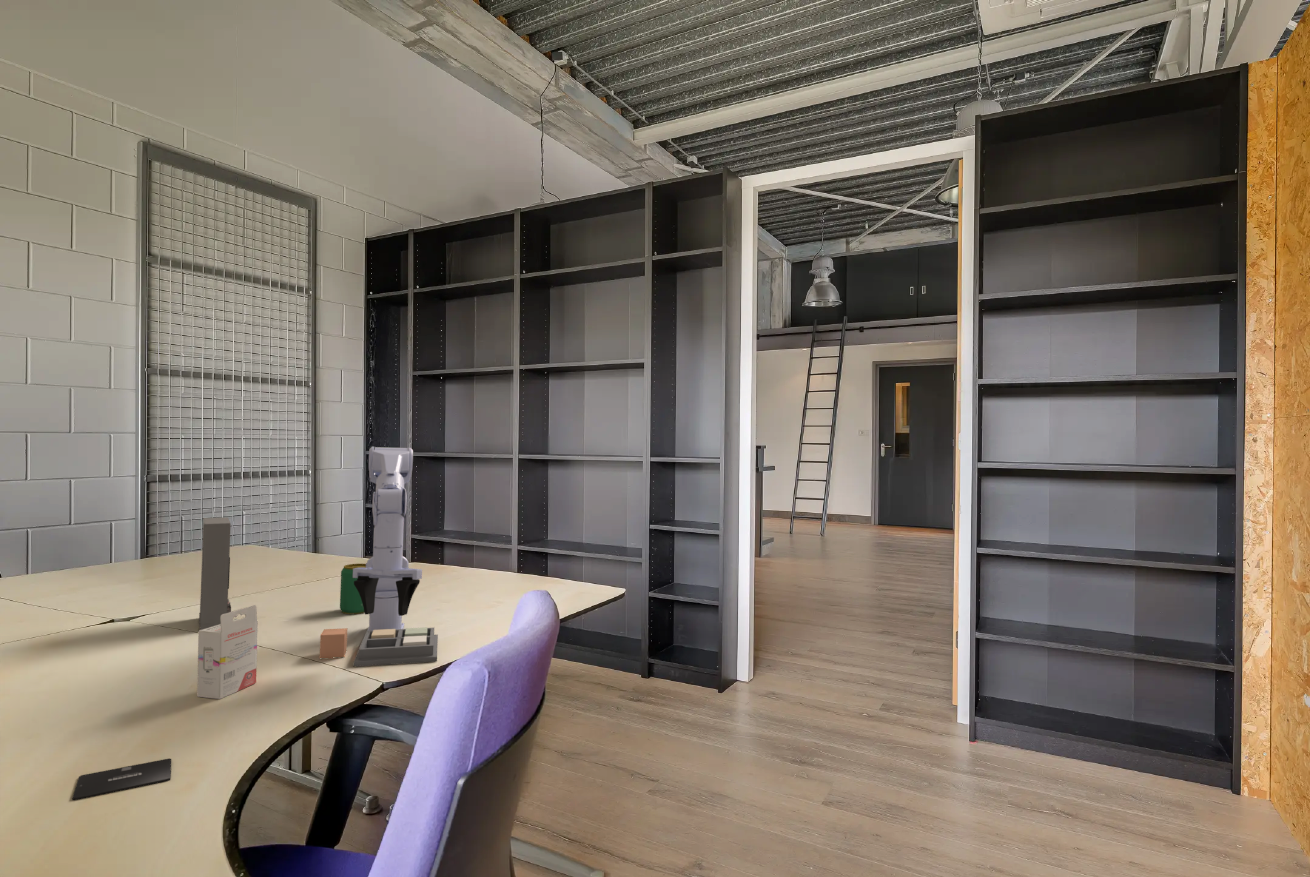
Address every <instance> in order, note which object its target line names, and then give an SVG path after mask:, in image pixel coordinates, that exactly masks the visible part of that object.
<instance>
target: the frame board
mask: <svg viewBox="0 0 1310 877" xmlns="http://www.w3.org/2000/svg"><path fill="white" fill-rule="evenodd" d="M438 636H439V634H435V627H409V628H408V627H406V628H403V629H382V630H371V631H367V630H366V631H365V634H364V637H363V638H362V640H361V643H360V646H359V648H358V651H357V654H356V655H355V658H354V659H353V667H354V666H356V667H368V666H369V667H371V666H384V665H386V666H387V665H388V666H389V665H401V664H402V663H405V664H417V663H418V664H419V663H433V662H434V663H436V662H435V661H438V642H439V637H438Z"/></svg>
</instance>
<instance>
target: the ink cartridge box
mask: <svg viewBox="0 0 1310 877" xmlns="http://www.w3.org/2000/svg"><path fill="white" fill-rule="evenodd" d="M257 609H258V607H257V605H256V604H253V605H250V606H247V607H243V608H239V609H236V610H231V612H229V613H226V614H222V615H221V616H220V621H221V624H219V625H216V626H213V627H209V628H206V629H203V630H200V629H199V630H198V631H197V632H198V645H197V646H198V647H197V683H196V684H197V688H196V689H197V690H196V691H197V692H196V693H197V694H196V696H197V697H198V698H206V699H208V698H209V699H216V700H220V699H223V698H225V697H228V696H230V695H232V694H235V693H236V692H239V691H241V690H244V689H246V688H248V687H250V686H252V685H254V684H256V683H257V669H258V668H257V666H258V665H257V662H258V632H259V630H258V625H259V622H258V613H257V612H258V610H257ZM239 615H241V616H242V615H243V616H244V617H242V618H239V619H238V618H236V617H238V616H239ZM234 618H236V619H234Z"/></svg>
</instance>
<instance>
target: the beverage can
mask: <svg viewBox="0 0 1310 877" xmlns="http://www.w3.org/2000/svg"><path fill="white" fill-rule="evenodd" d="M354 568H366V563H350V564H349V563H348V564H345V565H343V568H342V569H341V571H340V588H339V589H340V590H339V592H340V594H339V595H340V596H339V609H340V611H341V613H342V614H345V615H359V614H365V612H364V608H363V604H362V600H361V597H360V595H359V592H358V590H357V589H356V587H355V585H354V581H356V580H357V579H358V578H353V569H354Z"/></svg>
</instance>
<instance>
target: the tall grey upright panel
mask: <svg viewBox="0 0 1310 877" xmlns="http://www.w3.org/2000/svg"><path fill="white" fill-rule="evenodd" d="M202 519H203V520H202V522H203V523H202V548H201V549H202V550H201V573H200V575H201V577H200V597H199V599H200V601H199V602H200V605H199V614H198V619H199V622H198V623H199V630H203V629H206V628H209V627H213V626H216V625H219V624H221V621H220V616H221V615H222V614H226V613H229V612H232V606H231V602H230V599H229V590H230V573H231V572H230V568H231V567H230V565H231V556H230V551H231V527H232V526H231V521H230V520H229V517H203V518H202Z"/></svg>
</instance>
